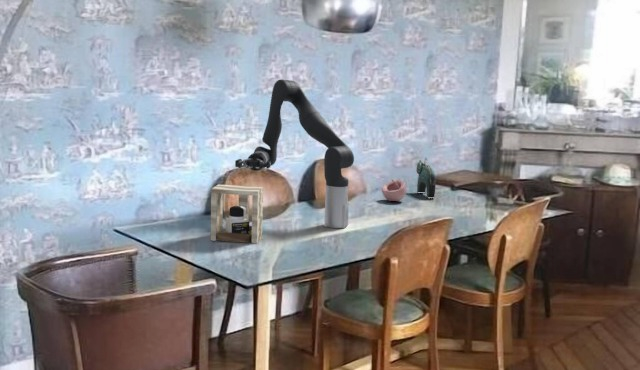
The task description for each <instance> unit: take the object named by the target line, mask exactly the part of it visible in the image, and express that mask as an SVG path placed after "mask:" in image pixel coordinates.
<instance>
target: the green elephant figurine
mask: <svg viewBox="0 0 640 370" xmlns="http://www.w3.org/2000/svg"><path fill="white" fill-rule="evenodd" d="M426 161H428V158H427V157H425V158H424V161H422V160H421V159H419V162H417V164H416V173H417V174H418V178H417V185H416V186H417V187H416V188H417V189H416V190H417V191H416V193H417V192H425V193H426V197H427V196H428V197H434V198H435V194H436V175H435V171H434V169H433V168H432V166H431V165H429V164H428V162H426Z"/></svg>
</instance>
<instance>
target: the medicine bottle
mask: <svg viewBox="0 0 640 370" xmlns="http://www.w3.org/2000/svg"><path fill="white" fill-rule="evenodd" d="M245 217H246V209H245V207H242V206H239V205H235V206H231V207H229V216H228V217H225V228H226V229H225V228H224V229H225V231H226V232H228V233H244V234H249V233H250V232H249V226H250V220H249V221H248V220H247V219H245Z"/></svg>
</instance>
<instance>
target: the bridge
mask: <svg viewBox="0 0 640 370" xmlns="http://www.w3.org/2000/svg"><path fill="white" fill-rule="evenodd" d="M224 195H238V196H239V195H249V196H252V198H251V200H252V202H251V203H252V205H251V206H252V207H251V226H252V240H251V244H258V243H259V242H260V240H261V239H262V237H263V212H264V210H263V209H264V207H263V206H264V205H263V203H264V186H255V185H254V186H253V185H252V186H251V185H233V184H232V185H231V184H217V185H215V186H213V187H212V188H211V190H210V241H213V242H214V241H215V242H216V241H218V232H222V231H223V230H224V229H223V227H224V226H223V223H224V222H223V221H224V220H223V219H224Z"/></svg>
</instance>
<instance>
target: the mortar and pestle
mask: <svg viewBox="0 0 640 370" xmlns="http://www.w3.org/2000/svg"><path fill="white" fill-rule="evenodd" d="M381 193H382V195H383V197H384V198H385V200H387V201H388V202H391V201H397V202H399V201H402V200H403V199H404V198H405V196H406V195H407V186H406V183H405V181H403V180H400V179H395V180H394V179H391V180H390V181H389V182H387V183H385V184H384V185H383V186H382V188H381Z"/></svg>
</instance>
